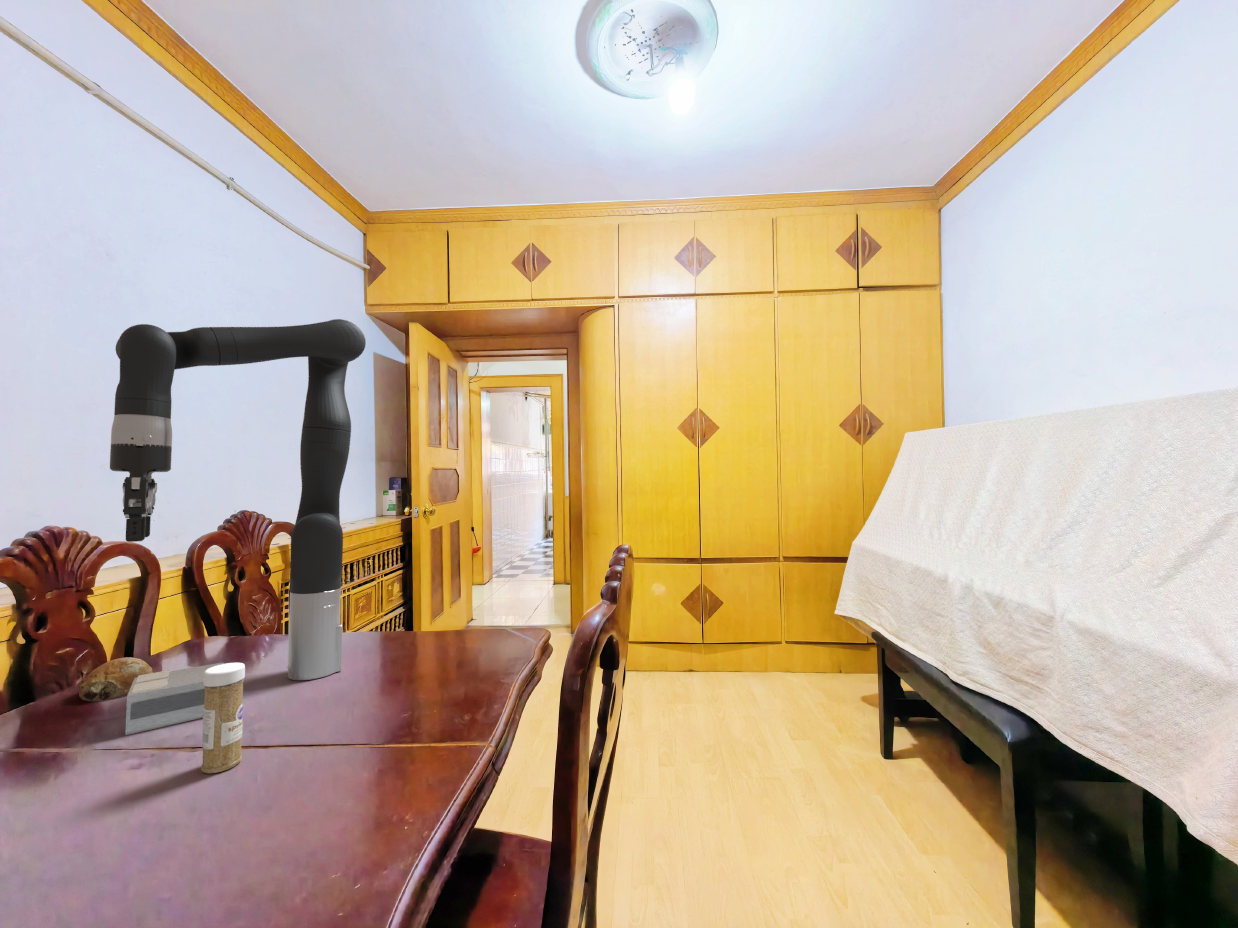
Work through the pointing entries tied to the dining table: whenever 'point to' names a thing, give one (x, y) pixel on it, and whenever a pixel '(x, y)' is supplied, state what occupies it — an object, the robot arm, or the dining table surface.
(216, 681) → the sprinkles bottle
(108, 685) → the bread roll
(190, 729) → the dining table surface
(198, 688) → the box
